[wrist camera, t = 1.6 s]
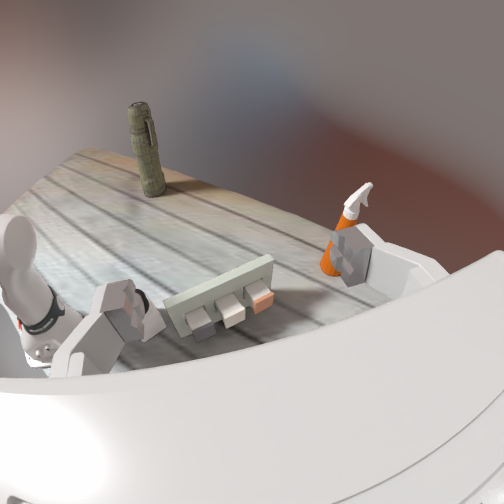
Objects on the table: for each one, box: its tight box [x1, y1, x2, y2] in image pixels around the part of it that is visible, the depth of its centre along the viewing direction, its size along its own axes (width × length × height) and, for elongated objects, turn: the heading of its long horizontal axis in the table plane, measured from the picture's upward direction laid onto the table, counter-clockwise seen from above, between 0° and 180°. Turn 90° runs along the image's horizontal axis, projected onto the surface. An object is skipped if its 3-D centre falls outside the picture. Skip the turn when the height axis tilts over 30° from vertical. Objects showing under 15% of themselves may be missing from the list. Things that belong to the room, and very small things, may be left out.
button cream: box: [213, 292, 245, 329], centre depth 58 cm, size 5×9×5 cm, turn 31°
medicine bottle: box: [135, 289, 167, 343], centre depth 56 cm, size 7×7×12 cm
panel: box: [163, 253, 274, 338], centre depth 60 cm, size 24×8×14 cm, turn 121°
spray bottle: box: [320, 183, 373, 276], centre depth 65 cm, size 7×11×26 cm, turn 126°
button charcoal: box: [183, 306, 216, 343], centre depth 55 cm, size 5×9×5 cm, turn 31°
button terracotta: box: [243, 278, 274, 314], centre depth 60 cm, size 5×9×5 cm, turn 31°
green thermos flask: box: [128, 102, 166, 198], centre depth 83 cm, size 9×12×35 cm
